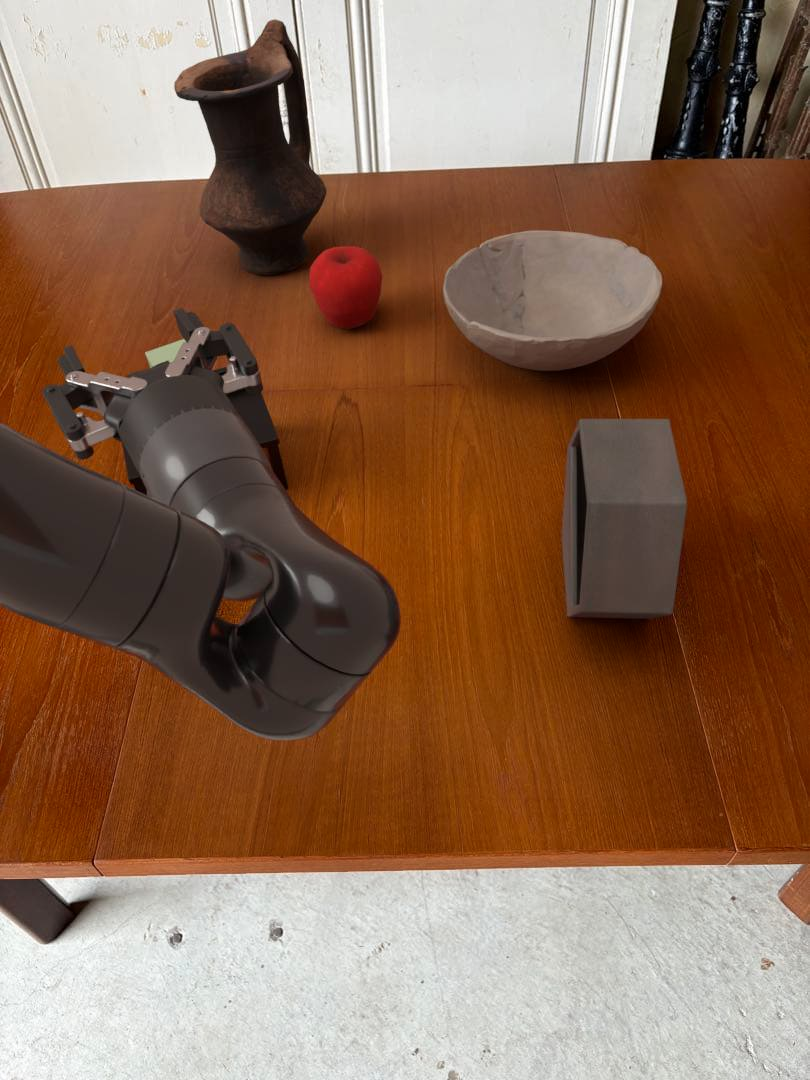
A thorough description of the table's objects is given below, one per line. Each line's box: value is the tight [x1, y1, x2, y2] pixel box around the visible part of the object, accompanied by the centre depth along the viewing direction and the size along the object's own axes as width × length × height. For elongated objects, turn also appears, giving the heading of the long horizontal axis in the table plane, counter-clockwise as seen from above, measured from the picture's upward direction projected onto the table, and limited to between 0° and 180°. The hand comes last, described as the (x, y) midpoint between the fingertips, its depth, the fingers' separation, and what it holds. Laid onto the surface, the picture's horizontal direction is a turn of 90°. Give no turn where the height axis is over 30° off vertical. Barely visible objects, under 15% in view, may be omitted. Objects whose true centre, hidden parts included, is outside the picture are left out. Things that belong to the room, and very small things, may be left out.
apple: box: [308, 245, 383, 330], centre depth 110 cm, size 10×10×11 cm
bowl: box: [442, 229, 663, 372], centre depth 104 cm, size 26×26×10 cm
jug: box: [173, 18, 327, 276], centre depth 115 cm, size 21×18×30 cm
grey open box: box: [561, 418, 688, 620], centre depth 74 cm, size 17×8×21 cm
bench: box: [121, 366, 289, 496], centre depth 91 cm, size 16×12×10 cm
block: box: [144, 338, 187, 369], centre depth 85 cm, size 5×5×9 cm
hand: (126, 337), depth 62 cm, fingers open, 8 cm apart
